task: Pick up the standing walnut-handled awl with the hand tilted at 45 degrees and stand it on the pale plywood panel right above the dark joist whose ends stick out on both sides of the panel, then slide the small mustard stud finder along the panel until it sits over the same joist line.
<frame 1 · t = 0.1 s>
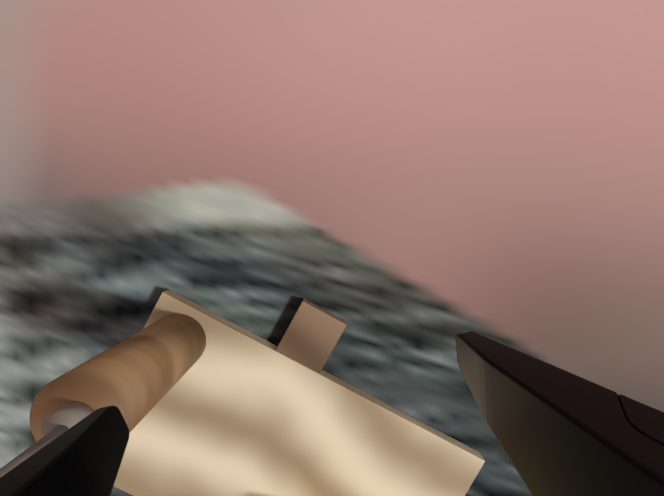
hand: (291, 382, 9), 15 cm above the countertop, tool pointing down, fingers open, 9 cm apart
awl: (178, 340, 23), point 1 cm above the countertop, touching panel
panel: (283, 453, 25), on the countertop
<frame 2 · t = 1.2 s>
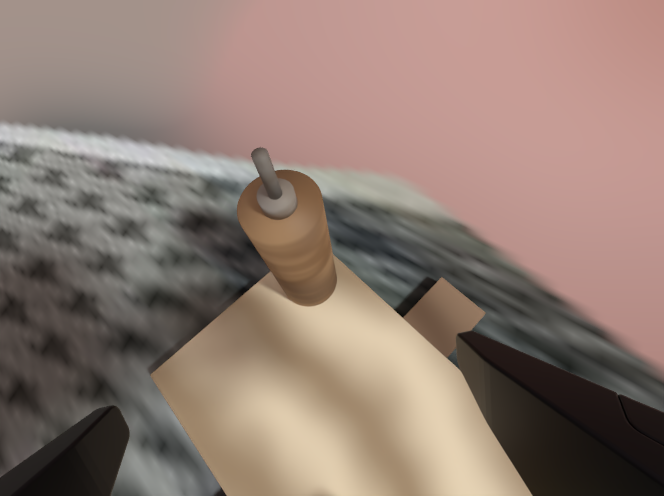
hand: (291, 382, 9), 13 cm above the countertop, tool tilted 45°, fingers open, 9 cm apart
awl: (309, 279, 23), point 1 cm above the countertop, touching panel
panel: (376, 459, 19), on the countertop
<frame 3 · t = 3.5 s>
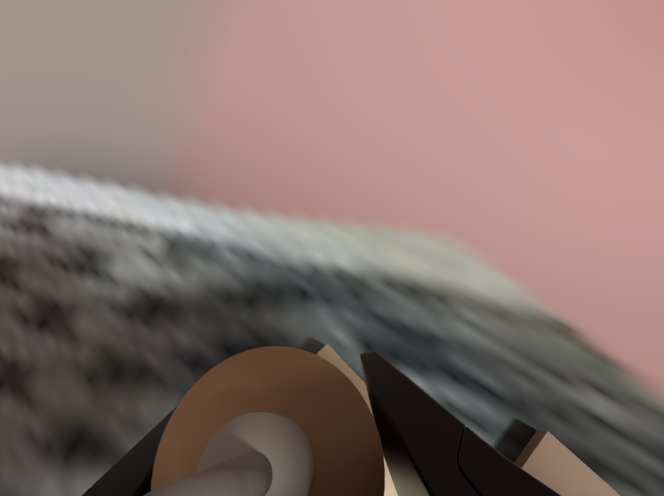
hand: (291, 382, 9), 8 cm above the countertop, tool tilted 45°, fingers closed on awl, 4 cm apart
awl: (324, 429, 14), point 1 cm above the countertop, touching gripper, panel
when the fingers open (8 cm above the countertop, at t = 6.4 s): awl stays where it is, resting on panel.
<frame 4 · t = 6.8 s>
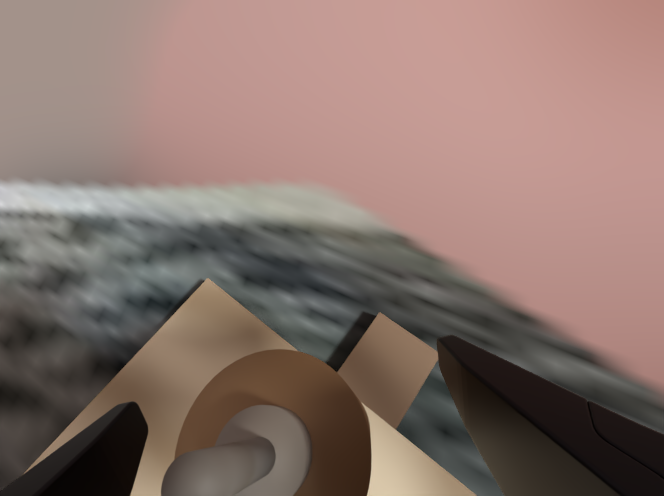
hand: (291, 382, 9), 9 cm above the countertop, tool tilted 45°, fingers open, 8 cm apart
awl: (327, 429, 15), point 1 cm above the countertop, touching panel
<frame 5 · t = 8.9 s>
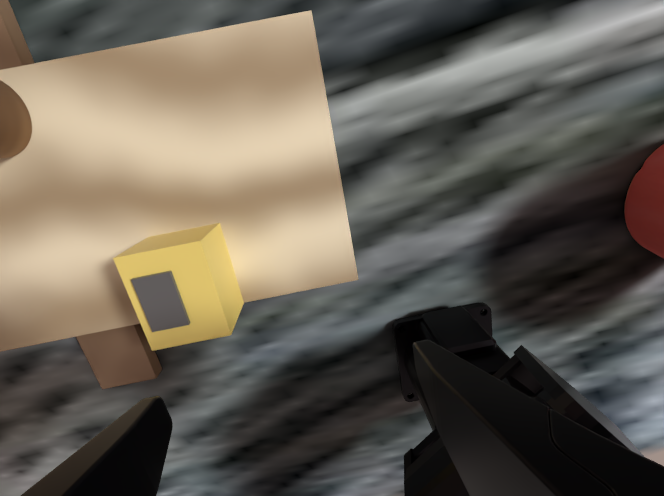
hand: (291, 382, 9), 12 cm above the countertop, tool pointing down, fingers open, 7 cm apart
panel: (108, 205, 19), on the countertop
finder: (198, 271, 19), point 1 cm above the countertop, touching panel
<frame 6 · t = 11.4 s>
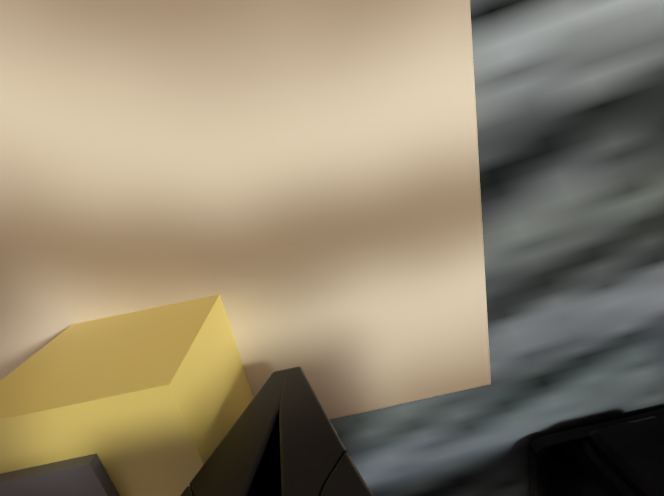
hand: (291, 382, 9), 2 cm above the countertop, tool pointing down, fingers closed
panel: (3, 256, 9), on the countertop
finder: (177, 384, 10), point 1 cm above the countertop, touching gripper, panel
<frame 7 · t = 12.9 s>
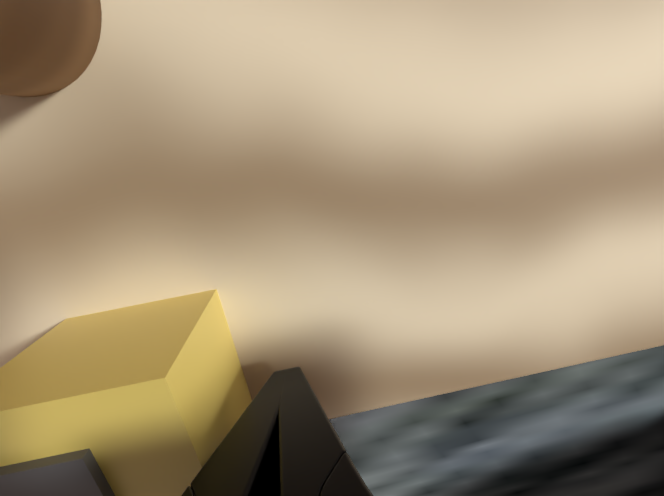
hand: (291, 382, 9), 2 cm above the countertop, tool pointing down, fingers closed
panel: (238, 205, 9), on the countertop
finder: (172, 380, 10), point 1 cm above the countertop, touching gripper, panel
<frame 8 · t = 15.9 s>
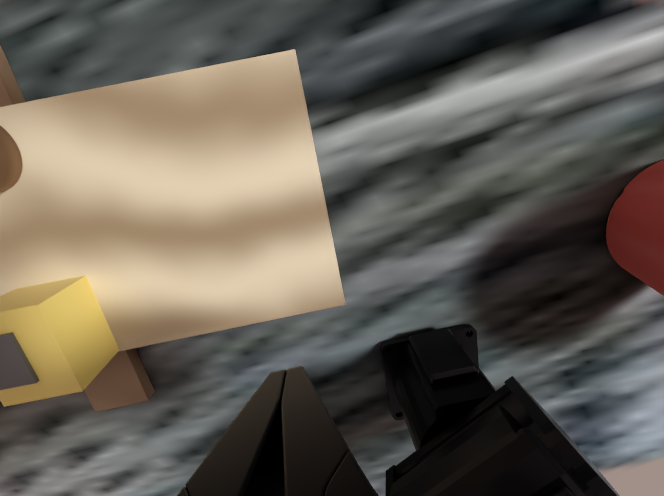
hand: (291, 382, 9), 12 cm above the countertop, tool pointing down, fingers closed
panel: (99, 234, 19), on the countertop
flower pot: (657, 216, 22), on the countertop
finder: (69, 320, 19), point 1 cm above the countertop, touching panel
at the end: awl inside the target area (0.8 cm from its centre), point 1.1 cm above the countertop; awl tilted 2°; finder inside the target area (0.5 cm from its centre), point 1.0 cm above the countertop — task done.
